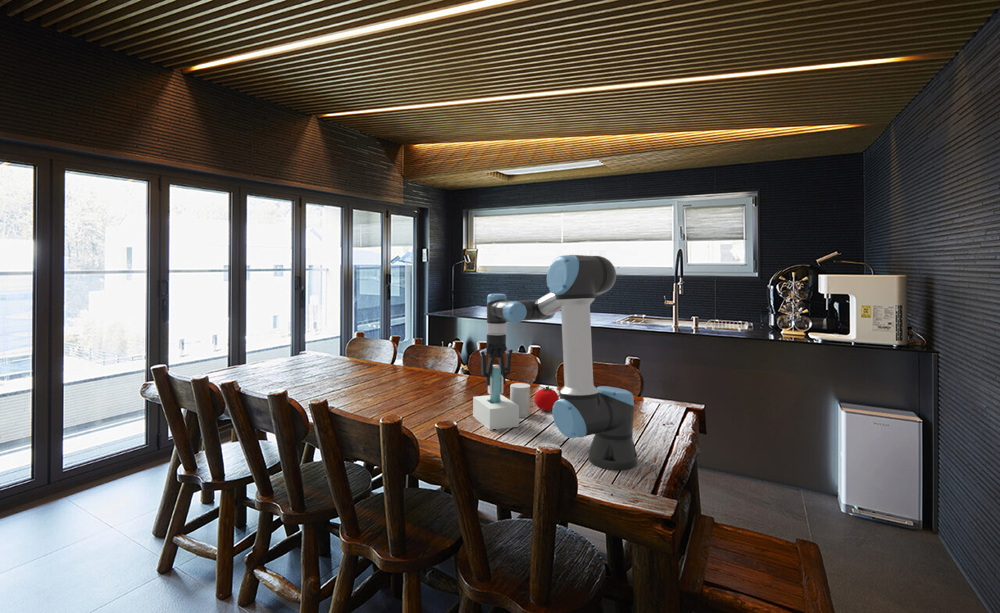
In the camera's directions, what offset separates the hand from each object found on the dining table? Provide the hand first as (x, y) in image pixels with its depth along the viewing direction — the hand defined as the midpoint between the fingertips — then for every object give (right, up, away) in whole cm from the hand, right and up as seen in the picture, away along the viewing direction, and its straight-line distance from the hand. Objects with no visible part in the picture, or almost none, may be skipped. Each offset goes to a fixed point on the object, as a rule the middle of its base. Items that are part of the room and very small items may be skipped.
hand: (495, 392), depth 191 cm
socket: (0, -11, +1) cm, 11 cm away
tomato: (+21, -10, +17) cm, 29 cm away
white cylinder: (+10, -11, +11) cm, 18 cm away
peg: (0, -4, 0) cm, 4 cm away
